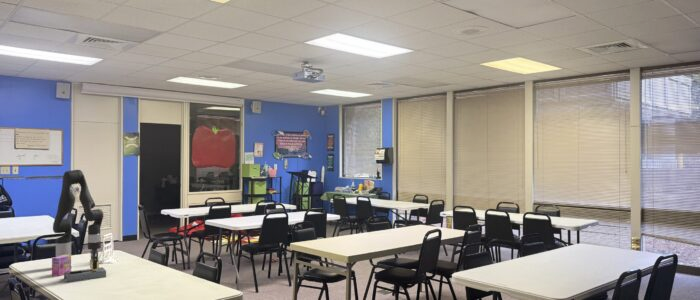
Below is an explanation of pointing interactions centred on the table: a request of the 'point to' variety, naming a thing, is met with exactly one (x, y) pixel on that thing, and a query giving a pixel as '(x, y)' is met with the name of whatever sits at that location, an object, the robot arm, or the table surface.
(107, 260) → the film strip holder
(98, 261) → the brass peg
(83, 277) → the keyhole plate
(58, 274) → the box
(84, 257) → the table surface
